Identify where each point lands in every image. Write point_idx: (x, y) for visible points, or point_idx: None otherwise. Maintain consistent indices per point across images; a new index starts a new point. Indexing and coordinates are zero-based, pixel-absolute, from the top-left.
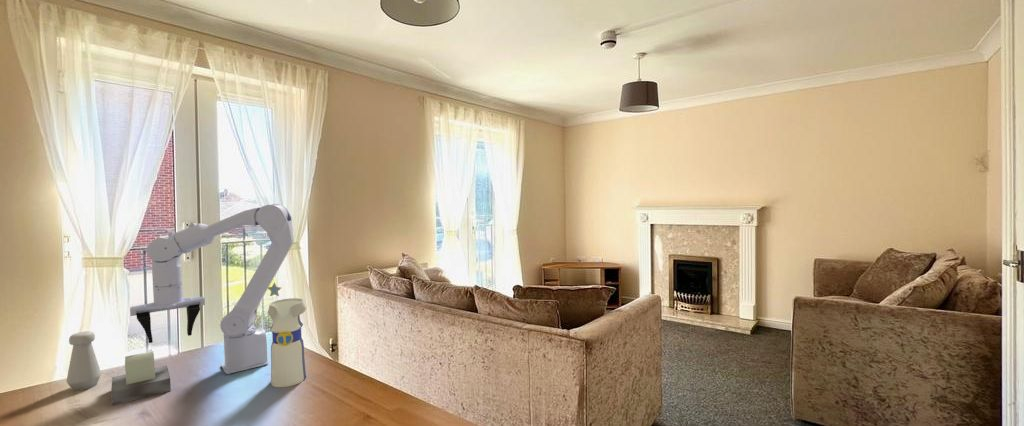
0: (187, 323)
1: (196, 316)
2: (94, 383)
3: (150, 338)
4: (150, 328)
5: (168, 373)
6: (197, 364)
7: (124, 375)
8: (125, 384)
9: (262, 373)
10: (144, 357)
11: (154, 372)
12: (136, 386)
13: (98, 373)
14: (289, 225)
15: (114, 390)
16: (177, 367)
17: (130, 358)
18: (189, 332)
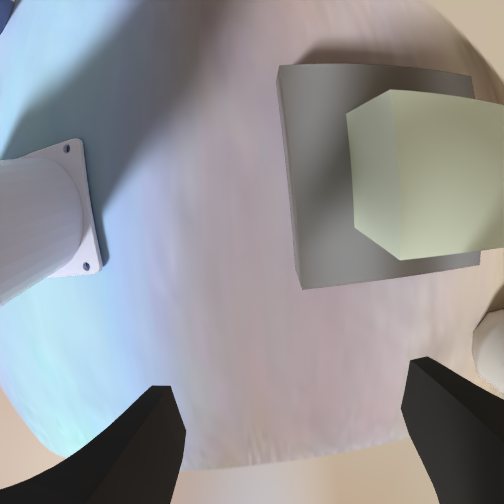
0: (167, 498)
1: (26, 480)
2: (483, 324)
3: (439, 370)
4: (487, 421)
5: (291, 143)
6: (193, 349)
7: (450, 257)
8: None
9: (4, 98)
10: (442, 131)
11: (356, 110)
12: (403, 67)
13: (491, 343)
14: None
15: (465, 82)
16: (262, 361)
17: (498, 180)
18: (151, 398)
